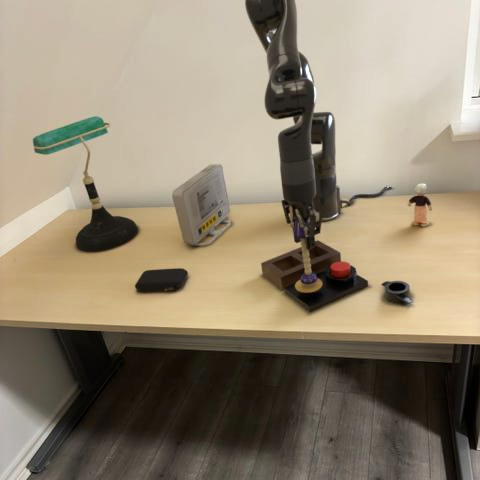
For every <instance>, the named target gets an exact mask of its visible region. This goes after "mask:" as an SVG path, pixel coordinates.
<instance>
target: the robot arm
mask: <svg viewBox="0 0 480 480" xmlns="http://www.w3.org/2000/svg"><path fill="white" fill-rule="evenodd" d="M296 4H297V3H296V0H244V7H245V11H246V14H247V18H248V21H249V22H250V24H251V27H252V28H253V31H254V33H255V34H256V37H257V38H258V40H259V43H260V44H261V46H262V48H263V50H264V52H265V54H266V65H267V72H268V80H267V84H266V89H265V92H264V98H263V99H264V100H263V101H264V108H265V112H266V114H267V115H268V117H270V118H271V119H273V120H275V121H276V120H284V119H285V120H286V119H290V118H291V119H293V120H292V121H293V123H294V124H293V125H291V126H289V127H287V128H285V129H283V130H281V131H279V132H278V134H277V146H278V155H279V174H280V181H281V191H282V198H283V199H282V200H281V206H282V210H283V214H284V218H285V222H286V224H287V225H289V226H290V229H291V230H292V233H293V242H294V243H296V244H299V243H301V240H300V239H299V238H296V237H294V227H295V221H296V219H299V222H300V226H301V227H303V230H304V233H305V242H306V249H307V250H311V249H314V248H315V241H316V236H317V235H319V234H321V231H322V222H327V221H331V220H334V219H336V218H337V217H338V216H339V215H341V213H342V211H341V210H342V209H343V204H346V205H348V206H350V205H352V204H353V203H354V199H357V198H361V197H362V198H363V197H364V198H374V197H379V196H380V195H382V194H383V193H384V192H385V191H386V190H387V189H389V190H392V189H393V187H392V186H391V187H389V188H387V187H385V186H384V187H383V188H382V190H380V191H379V192H377V193H357V194H356V195H353V196H352V197H351V198H350V201H348V200H345V199H344V200H343V199H341V192H340V191H341V189H340V186H339V185H338V184H337V183H338V182H337V167H336V155H337V154H336V153H337V151H336V149H337V148H336V119H335V116H334V114H333V113H332V112H331V111H318V112H315V109H316V108H315V107H316V104H317V103H316V102H317V88H316V85H315V77H314V75H313V72H312V69H311V66H310V63H309V61H308V58H307V57H306V56H305V55H304V54H303V53H302V52H301V51H299V48H298V47H299V46H298V11H297V5H296ZM312 145H313V146H314V145H317V146H318V145H321V149H320V150H319V151H316V152H314V153H313V152H312V151H313V150H312V149H313V148H312ZM307 220H309V221H308V222H306V223H304V221H307ZM307 226H309V231H308V228H307Z"/></svg>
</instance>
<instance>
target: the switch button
mask: <svg viewBox="0 0 480 480" xmlns="http://www.w3.org/2000/svg"><path fill="white" fill-rule="evenodd" d="M350 265H351V264H350V263H349V262H347V261H343V260H341V262H335V263H333V264H332V265H331V275H332V276H334V277H345V276H348V275H349V274H350Z"/></svg>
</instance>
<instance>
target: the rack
mask: <svg viewBox="0 0 480 480" xmlns="http://www.w3.org/2000/svg"><path fill="white" fill-rule="evenodd" d="M308 252H309V258H310V264H311V271H312V273H314V274H318V273H320V272H322V271H325V270H327V269H328V268H329V267H331V265H332V264H333V263H335V262H341V261H342V256H341V255H342V254H341V252H340V251H339V250H336V249H335V248H333V247H331V246H330V245H327V244H326V243H324V242H322V241H320V240H315V248H314V249H311V250H309V251H308ZM302 253H303V252H302V246H300V247H298V248H294V249H292V250H290V251H287V252H285V253H282V254H280V255H278V256H275V257H273V258H270V259H268V260H265V261H262V262H260V266H261V271H262V273H261V274H262V276H263V277H265V279H267V280H268V281H270V282H271V283H272V284H273V285H275V286H276V287H278V288H279V289H280V290H281V291H284V288H285V287H287V286H290V285H292V284H294V283H296V282H297V281H299V280H301V276H302V275H303V274H304V273H305V268H304V262H303V256H302Z"/></svg>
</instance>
